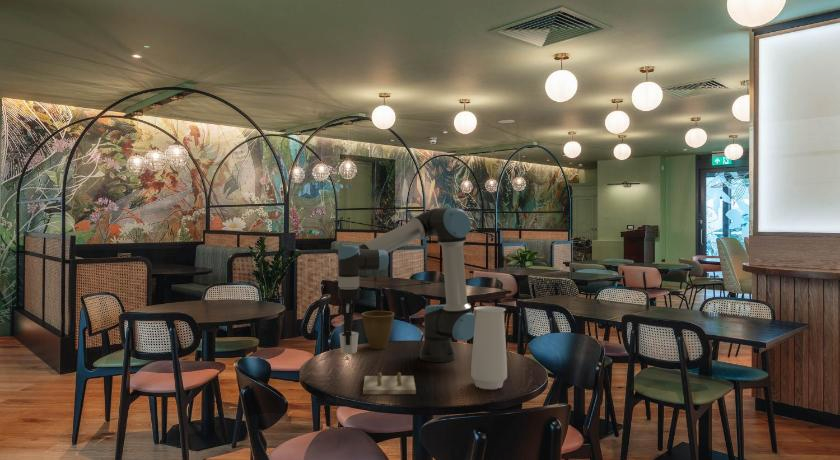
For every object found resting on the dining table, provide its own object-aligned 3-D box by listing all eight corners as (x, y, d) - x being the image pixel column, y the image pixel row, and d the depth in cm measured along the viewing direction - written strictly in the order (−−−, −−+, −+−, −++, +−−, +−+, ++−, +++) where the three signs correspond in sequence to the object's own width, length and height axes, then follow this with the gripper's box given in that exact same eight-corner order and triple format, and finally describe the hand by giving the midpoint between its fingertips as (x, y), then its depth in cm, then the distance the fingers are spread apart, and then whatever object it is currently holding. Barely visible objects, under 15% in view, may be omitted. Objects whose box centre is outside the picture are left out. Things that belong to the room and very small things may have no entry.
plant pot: (365, 343, 284) (366, 310, 284) (396, 344, 282) (396, 311, 282) (358, 350, 269) (358, 315, 269) (390, 351, 267) (390, 316, 267)
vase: (497, 392, 206) (498, 312, 206) (464, 386, 213) (465, 309, 213) (512, 384, 217) (513, 307, 217) (480, 378, 224) (481, 304, 224)
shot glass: (361, 350, 217) (361, 331, 217) (353, 354, 211) (353, 335, 211) (344, 349, 220) (344, 330, 219) (336, 353, 213) (336, 334, 213)
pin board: (413, 379, 222) (413, 369, 222) (415, 394, 204) (415, 382, 204) (364, 379, 221) (364, 369, 221) (362, 394, 203) (363, 382, 203)
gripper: (340, 284, 224) (340, 345, 225) (335, 291, 204) (335, 357, 205) (360, 284, 225) (360, 345, 225) (357, 291, 205) (357, 357, 206)
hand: (348, 351), depth 215 cm, fingers closed on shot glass, 7 cm apart
